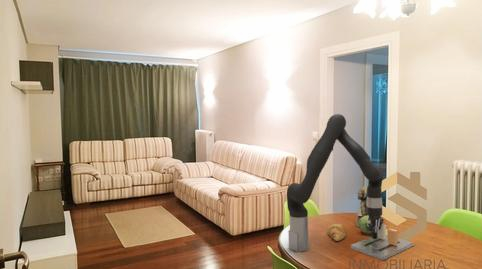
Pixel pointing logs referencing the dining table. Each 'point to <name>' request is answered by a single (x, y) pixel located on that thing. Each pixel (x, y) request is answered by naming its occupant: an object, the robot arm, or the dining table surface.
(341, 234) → the croissant
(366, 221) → the decorative ball
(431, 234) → the dining table surface
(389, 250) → the fader panel
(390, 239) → the orange fader
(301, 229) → the robot arm
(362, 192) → the plush toy
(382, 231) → the cream fader
